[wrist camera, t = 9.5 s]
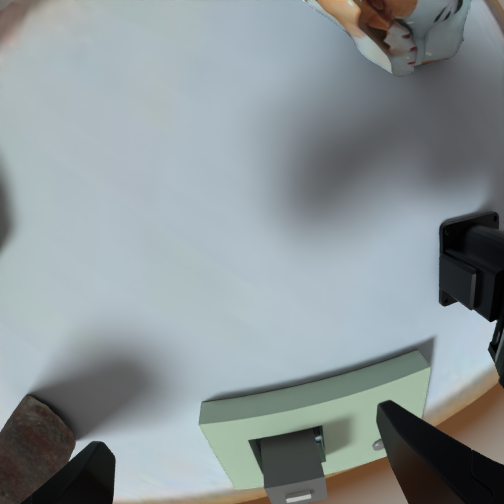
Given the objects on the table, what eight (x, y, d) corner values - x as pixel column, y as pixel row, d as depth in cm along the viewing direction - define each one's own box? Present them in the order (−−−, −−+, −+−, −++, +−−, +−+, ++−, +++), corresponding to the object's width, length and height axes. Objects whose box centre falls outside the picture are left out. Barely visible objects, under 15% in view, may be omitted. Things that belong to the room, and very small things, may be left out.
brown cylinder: (77, 411, 22) (4, 577, 3) (85, 451, 24) (35, 590, 5) (16, 383, 22) (-73, 517, 2) (30, 426, 24) (-34, 546, 4)
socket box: (417, 349, 22) (432, 368, 19) (405, 428, 25) (415, 447, 22) (201, 402, 22) (198, 427, 19) (235, 471, 25) (236, 492, 22)
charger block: (308, 411, 23) (325, 480, 16) (312, 438, 24) (328, 502, 17) (258, 421, 23) (264, 492, 16) (268, 447, 24) (274, 512, 17)
